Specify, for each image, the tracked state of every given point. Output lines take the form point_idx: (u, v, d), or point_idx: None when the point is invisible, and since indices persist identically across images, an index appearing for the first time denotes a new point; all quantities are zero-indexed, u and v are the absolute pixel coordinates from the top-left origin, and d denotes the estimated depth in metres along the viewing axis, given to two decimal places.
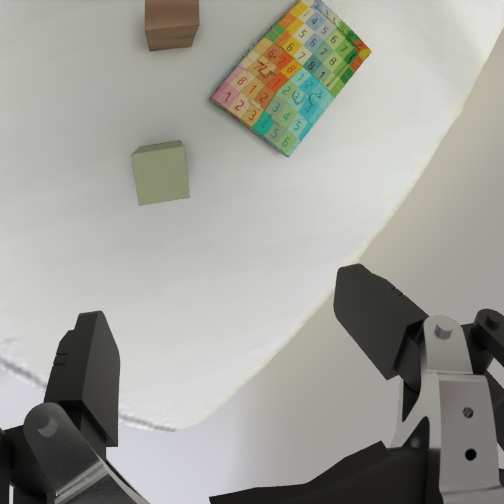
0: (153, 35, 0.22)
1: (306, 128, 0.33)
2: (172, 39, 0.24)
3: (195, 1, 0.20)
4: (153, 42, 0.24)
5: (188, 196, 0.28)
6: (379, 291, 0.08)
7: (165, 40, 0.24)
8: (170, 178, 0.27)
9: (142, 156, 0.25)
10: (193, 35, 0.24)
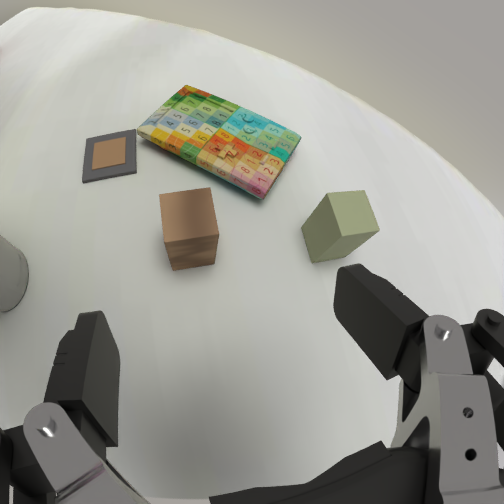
0: None
1: (274, 124, 0.40)
2: None
3: (182, 193, 0.28)
4: None
5: (363, 191, 0.32)
6: (379, 291, 0.08)
7: None
8: (354, 204, 0.31)
9: (342, 226, 0.29)
10: None
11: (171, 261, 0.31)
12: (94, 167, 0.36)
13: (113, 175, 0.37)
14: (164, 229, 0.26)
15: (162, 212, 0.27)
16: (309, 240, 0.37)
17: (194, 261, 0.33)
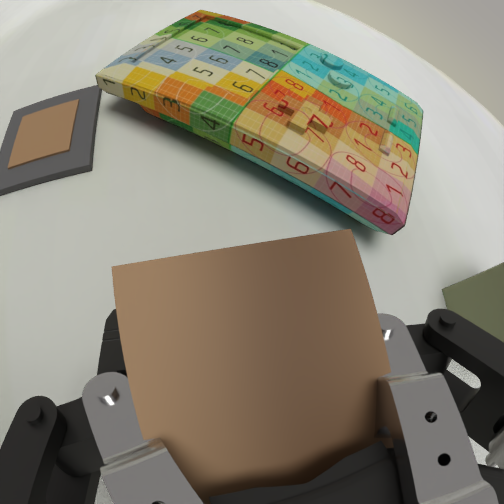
0: None
1: (378, 80, 0.17)
2: None
3: (229, 262, 0.06)
4: None
5: None
6: None
7: None
8: None
9: None
10: None
11: None
12: (12, 162, 0.14)
13: (44, 178, 0.14)
14: None
15: (134, 373, 0.05)
16: None
17: None
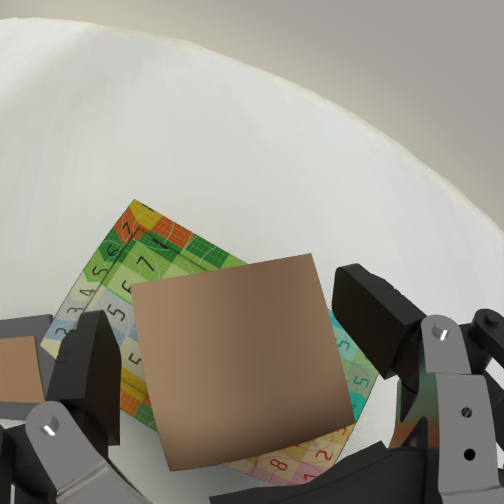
0: None
1: None
2: None
3: (215, 281, 0.08)
4: None
5: None
6: (377, 291, 0.08)
7: None
8: None
9: None
10: None
11: None
12: (1, 397, 0.14)
13: None
14: (162, 427, 0.06)
15: (146, 360, 0.07)
16: None
17: None
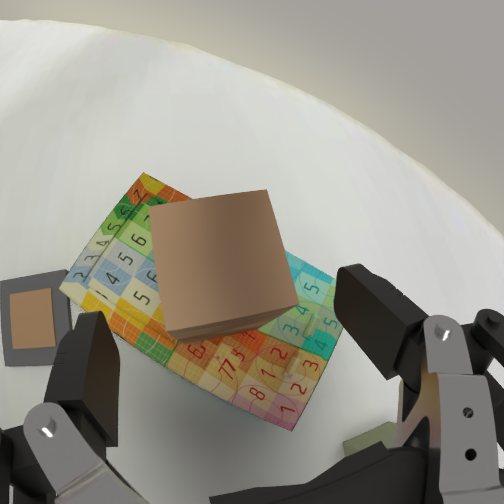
0: None
1: (312, 272, 0.22)
2: None
3: (203, 204, 0.12)
4: None
5: None
6: (379, 291, 0.08)
7: None
8: None
9: None
10: None
11: (181, 340, 0.15)
12: (15, 345, 0.18)
13: None
14: (163, 296, 0.10)
15: (156, 251, 0.11)
16: None
17: (225, 333, 0.17)
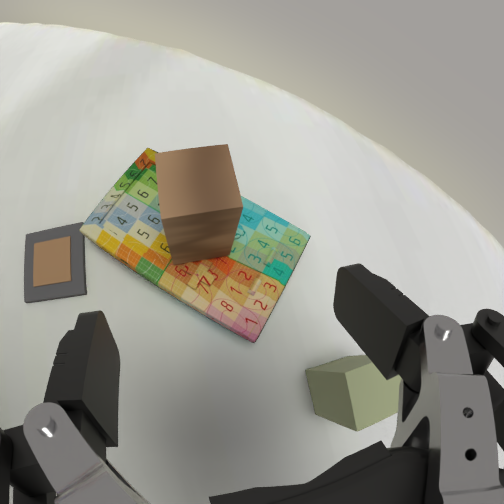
0: None
1: (272, 217, 0.29)
2: None
3: (187, 152, 0.19)
4: None
5: None
6: (379, 291, 0.08)
7: None
8: (380, 379, 0.20)
9: (358, 418, 0.19)
10: None
11: (171, 251, 0.22)
12: (36, 282, 0.25)
13: (59, 297, 0.26)
14: (161, 200, 0.17)
15: (158, 177, 0.18)
16: (314, 392, 0.26)
17: (203, 251, 0.24)
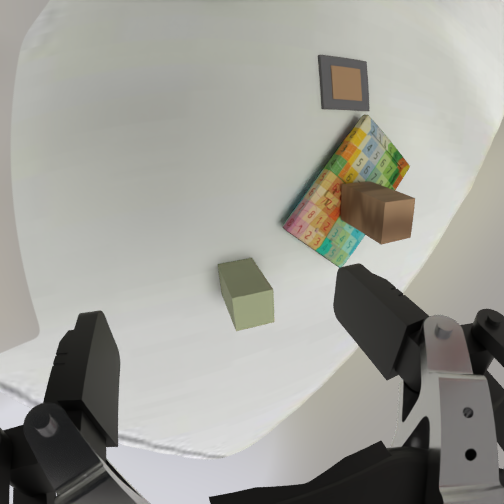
0: None
1: (355, 245, 0.43)
2: None
3: (411, 216, 0.32)
4: None
5: (273, 321, 0.37)
6: (379, 291, 0.08)
7: None
8: (261, 311, 0.36)
9: (240, 299, 0.34)
10: None
11: (356, 191, 0.35)
12: (333, 68, 0.34)
13: (321, 86, 0.35)
14: (393, 202, 0.30)
15: (403, 201, 0.30)
16: (237, 264, 0.41)
17: (350, 207, 0.37)
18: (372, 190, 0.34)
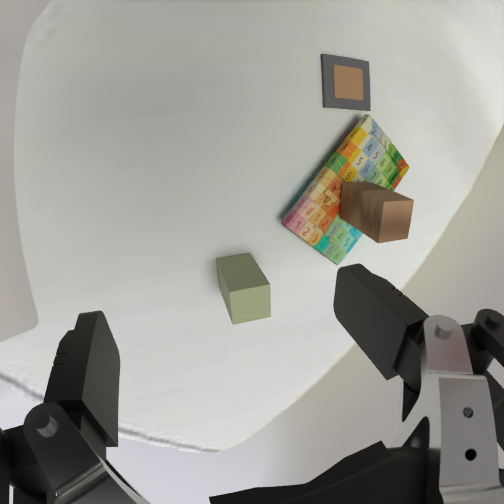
0: None
1: (352, 243, 0.44)
2: None
3: (409, 217, 0.32)
4: None
5: (269, 316, 0.38)
6: (379, 291, 0.08)
7: None
8: (257, 306, 0.37)
9: (237, 293, 0.35)
10: None
11: (356, 190, 0.35)
12: (335, 67, 0.34)
13: (323, 85, 0.35)
14: (391, 202, 0.31)
15: (402, 201, 0.31)
16: (236, 259, 0.42)
17: (349, 206, 0.37)
18: (372, 190, 0.35)
